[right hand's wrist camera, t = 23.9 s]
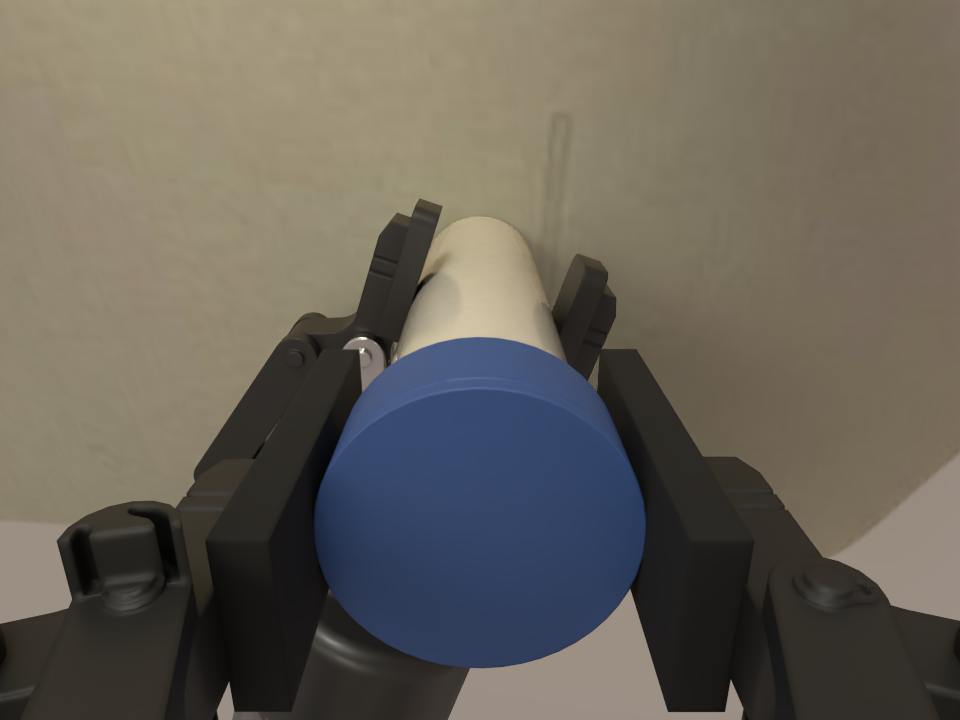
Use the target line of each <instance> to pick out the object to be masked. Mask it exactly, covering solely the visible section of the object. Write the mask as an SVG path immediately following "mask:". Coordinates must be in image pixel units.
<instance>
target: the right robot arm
mask: <svg viewBox="0 0 960 720" xmlns="http://www.w3.org/2000/svg"><path fill="white" fill-rule="evenodd" d="M597 393H598V395H599V396H600V398H601V399H602V401H603V402H604V403H605V405H606V407H607V409H608V411H609V414H610V416H611V418H612V420H613V422H614V425H615V427H616V429H617V432H618V434H619V437H620V439H621V442H622V444H623V446H624V449H625V451H626V454H627V456H628V459H629V461H630V463H631V466H632V468H633V471H634V473H635V476H636V478H637V480H638V483H639V486H640V490H641V493H642V496H643V499H644V505H645V512H646V533H645V543H644V552H643V558H642V561H641V564H640V567H639V570H638V573H637V575H636V577H635V579H634V581H633V583H632V585H631V587H630V589H631V592H632V595H633V599H634V602H635V605H636V609H637V612H638V615H639V618H640V622H641V625H642V628H643V632H644V635H645V638H646V641H647V645H648V648H649V651H650V654H651V658H652V661H653V664H654V668H655V671H656V674H657V677H658V680H659V684H660V687H661V690H662V694H663V697H664V700H665V704H666V707H667V710H668V712H725V708H726V703H727V697H728V691H729V685H730V680H732V683H733V685H734V687H735V689H736V692H737V694H738V697H739V699H740V701H741V703H742V706H743V708H744V710H743V715H742V720H960V621H958V620H953V619H948V618H943V617H939V616H934V615H929V614H924V613H920V612H915V611H910V610H906V609H902V608H899V607H895V606H891V605H890V603H889V600H888V598H887V597H886V595H885V594H884V593H883V591H882V590H881V589H880V587H879V586H878V585H877V584H876V583H875V582H874V581H872V580H871V579H870V578H868V577H867V576H866V575H864V574H863V573H862V572H860V571H859V570H856V569H854V568H852V567H850V566H848V565H846V564H843V563H841V562H839V561H835V560H831V559H827V558H823V557H822V556H821V554H820V553H819V552H818V550H817V549H816V548H815V546H814V545H813V543H812V542H811V541H810V539H809V538H808V537H807V535H806V534H805V533H804V531H803V530H802V529H801V527H800V526H799V525H798V523H797V522H796V521H795V519H794V518H793V517H792V515H791V514H790V513H789V511H788V510H785V506H784V504H783V503H782V502H781V500H780V499H779V498H778V496H777V495H776V494H773V490H772V488H771V487H770V486H769V484H768V483H767V482H766V480H765V479H764V478H763V476H762V475H761V474H760V472H758V471H757V470H755V469H754V468H752V467H751V466H749V465H748V464H746V463H745V462H743V461H741V460H740V459H738V458H737V457H703V456H702V455H701V453H700V451H699V450H698V448H697V446H696V445H695V443H694V442H693V440H692V438H691V437H690V435H689V434H688V432H687V430H686V429H685V427H684V425H683V424H682V422H681V421H680V419H679V417H678V416H677V414H676V413H675V411H674V409H673V408H672V406H671V404H670V403H669V401H668V400H667V398H666V396H665V395H664V393H663V392H662V390H661V388H660V387H659V385H658V383H657V382H656V380H655V379H654V377H653V375H652V374H651V372H650V370H649V369H648V367H647V366H646V364H645V362H644V361H643V359H642V358H641V356H640V354H639V353H638V351H637V349H600V359H599V374H598V388H597ZM361 394H362V380H361V365H360V350H359V349H323V350H322V352H321V354H320V355H319V357H318V358H317V360H316V362H315V363H314V365H313V367H312V368H311V370H310V371H309V373H308V375H307V376H306V378H305V379H304V381H303V383H302V384H301V386H300V388H299V389H298V391H297V392H296V394H295V396H294V397H293V399H292V401H291V402H290V404H289V405H288V407H287V409H286V410H285V412H284V413H283V415H282V417H281V418H280V420H279V422H278V423H277V425H276V426H275V428H274V430H273V431H272V433H271V434H270V436H269V438H268V439H267V441H266V443H265V444H264V446H263V447H262V449H261V451H260V452H259V454H258V455H257V457H256V459H223V460H222V461H220V462H219V463H217V464H216V465H214V466H213V467H211V468H210V469H208V470H207V471H205V472H204V473H202V474H201V475H200V476H199V477H198V478H197V480H196V481H195V482H194V484H193V485H192V487H191V488H190V489H189V491H188V492H187V496H186V497H183V499H182V500H181V501H180V503H179V504H178V505H177V507H176V508H173V507H172V506H171V505H169V504H165V503H161V502H156V501H132V502H128V503H123V504H118V505H114V506H109V507H107V508H104V509H102V510H99V511H97V512H94V513H92V514H89V515H87V516H85V517H84V518H82V519H80V520H79V521H77V522H76V523H74V524H73V525H71V526H70V527H68V528H67V529H66V531H65V532H64V533H63V534H62V535H61V536H60V538H59V539H58V540H57V544H58V548H59V551H60V555H61V559H62V563H63V566H64V570H65V574H66V577H67V581H68V585H69V589H70V592H71V596H72V601H71V604H70V606H69V608H68V609H65V610H61V611H58V612H54V613H49V614H45V615H40V616H36V617H31V618H26V619H21V620H16V621H12V622H7V623H2V624H0V720H218V715H217V708H218V706H219V704H220V701H221V699H222V697H223V694H224V692H225V690H226V687H227V685H228V683H229V682H230V688H231V694H232V699H233V705H234V711H235V712H292V709H293V705H294V702H295V699H296V696H297V692H298V689H299V686H300V683H301V679H302V676H303V673H304V669H305V666H306V663H307V660H308V656H309V653H310V650H311V647H312V643H313V640H314V637H315V633H316V630H317V627H318V624H319V620H320V617H321V614H322V611H323V607H324V604H325V601H326V597H327V594H328V591H329V586H328V584H327V582H326V580H325V578H324V576H323V573H322V571H321V568H320V565H319V562H318V559H317V554H316V547H315V538H314V527H313V518H314V509H315V503H316V499H317V495H318V492H319V488H320V485H321V483H322V480H323V478H324V475H325V473H326V470H327V468H328V466H329V463H330V461H331V458H332V456H333V453H334V451H335V448H336V446H337V444H338V441H339V439H340V436H341V434H342V431H343V429H344V427H345V424H346V422H347V420H348V417H349V415H350V413H351V411H352V408H353V406H354V405H355V403H356V402H357V400H358V399H359V397H360V396H361Z"/></svg>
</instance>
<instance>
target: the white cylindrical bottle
mask: <svg viewBox="0 0 960 720" xmlns="http://www.w3.org/2000/svg"><path fill="white" fill-rule="evenodd" d="M469 337H492V338H502V339H507V340H513V341H518V342H521V343H524V344H528V345H531V346H534V347H537V348H539V349H541V350H543V351H546V352H548V353H550V354H552V355H554V356H556V357H557V358H559V359H560V360H562V361H564V362H565V363H567V364H568V361H567V358H566V355H565V352H564V349H563V346H562V343H561V340H560V337H559V334H558V331H557V328H556V325H555V322H554V319H553V316H552V313H551V310H550V307H549V304H548V301H547V298H546V295H545V292H544V289H543V286H542V283H541V280H540V277H539V274H538V271H537V268H536V265H535V262H534V259H533V256H532V253H531V251H530V248H529V246H528V244H527V242H526V241H525V239H524V238H523V237H522V235H521V234H520V233H519V232H518V231H517V230H515V229H514V228H513V227H512V226H510V225H508V224H507V223H505V222H503V221H500V220H498V219H495V218H491V217H480V216H476V217H469V218H465V219H461V220H459V221H457V222H454V223H453V224H451V225H449V226H448V227H447V228H445V229H444V230H443V231H442V232H441V233H440V234H439V235H438V236H437V237H436V239H435V240H434V242H433V243H432V245H431V247H430V249H429V252H428V255H427V258H426V261H425V264H424V267H423V270H422V273H421V277H420V280H419V283H418V286H417V289H416V292H415V295H414V298H413V301H412V304H411V307H410V310H409V312H408V315H407V318H406V321H405V324H404V327H403V330H402V333H401V336H400V339H399V342H398V345H397V348H396V351H395V354H394V357H393V360H392V363H391V365H392V364H393V363H395V362H396V361H398V360H399V359H401V358H402V357H404V356H406V355H408V354H410V353H412V352H414V351H416V350H418V349H420V348H423V347H426V346H429V345H432V344H435V343H438V342H442V341H447V340H452V339H457V338H469ZM568 365H569V364H568Z"/></svg>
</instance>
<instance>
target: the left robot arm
mask: <svg viewBox="0 0 960 720" xmlns="http://www.w3.org/2000/svg"><path fill="white" fill-rule="evenodd" d="M442 207H443V206H440V205H437V204H434V203H431V202H429V201H426V200H423V199H419V201H418V202H417V204H416V206H415V209H414V211H413V214H412V217H408V216H405V215H402V214H400V213H396V215H395V216H394V217H393V218H392V220H391V221H390V222H389V223H388V225H387V226H386V227H385V228H384V230H383V231H382V233H381V234H380V235H379V237H378V241H377V244H376V248H375V251H374V255H373V258H372V262H371V265H370V269H369V272H368V276H367V279H366V283H365V286H364V289H363V293H362V296H361V300H360V303H359V307H358V310H357V312H356V313H355V314H353V315H351V316H348V317H344V318H327V317H326V316H324V315H322V314H319V313H307V314H305V315H303V316H302V317H300V319H299V320H298V321H297V322H296V323H295V325H294V326H293V328H292V329H291V331H290V332H289V334H288V335H287V336H286V337H284V338H283V339H282V341H281V342H280V343H279V344H278V346H277V347H276V348H275V350H274V351H273V353H272V354H271V356H270V357H269V359H268V360H267V362H266V363H265V365H264V366H263V368H262V369H261V371H260V372H259V374H258V375H257V377H256V378H255V380H254V381H253V383H252V384H251V386H250V387H249V389H248V390H247V392H246V393H245V395H244V396H243V398H242V399H241V401H240V402H239V404H238V405H237V407H236V408H235V410H234V411H233V413H232V414H231V416H230V417H229V419H228V420H227V422H226V423H225V425H224V426H223V428H222V429H221V431H220V432H219V434H218V435H217V437H216V438H215V440H214V441H213V443H212V444H211V446H210V447H209V449H208V450H207V452H206V453H205V455H204V456H203V458H202V459H201V461H200V462H199V464H198V465H197V467H196V468H195V471H194V479H195V481H196V480H197V478H198V477H199V476H200V475H201V474H202V473H204V472H205V471H207V470H208V469H210V468H211V467H213V466H214V465H216V464H217V463H219V462H220V461H222V460H223V459H256V457H257V455H258V454H259V452H260V451H261V449H262V447H263V446H264V444H265V443H266V441H267V439H268V438H269V436H270V434H271V433H272V431H273V430H274V428H275V425H276V424H277V422H278V421H279V419H280V418H281V417H282V415H283V413H284V412H285V410H286V409H287V407H288V405H289V404H290V402H291V401H292V399H293V397H294V396H295V394H296V392H297V391H298V389H299V388H300V386H301V384H302V383H303V381H304V379H305V378H306V376H307V375H308V373H309V371H310V370H311V368H312V367H313V365H314V363H315V362H316V360H317V358H318V357H319V355H320V354H321V352H322V350H323V349H359V350H360V365H361V380H362V392H363V391H364V390H365V389H366V388H367V387H368V386H369V384H370V383H371V382H372V381H373V380H374V379H375V378H376V377H377V376H378V375H379V374H380V373H382V372H383V371H384V370H385V369H386V368H387V367H389V366H390V365H391V363H392V360H393V357H394V342H397V343H398V342H399V339H400V336H401V333H402V330H403V327H404V324H405V321H406V318H407V315H408V312H409V310H410V307H411V304H412V301H413V298H414V295H415V292H416V289H417V286H418V283H419V280H420V277H421V273H422V270H423V267H424V264H425V261H426V258H427V255H428V251H429V248H430V245H431V242H432V239H433V236H434V232H435V229H436V226H437V223H438V220H439V217H440V214H441V210H442ZM607 279H608V272H607V270H606V269H605V268H604V266H603V265H602V263H601V262H600V261H598V260H595V259H592V258H589V257H586V256H583V255H580V254H576V256H575V257H574V259H573V261H572V263H571V265H570V267H569V270H568V272H567V275H566V278H565V280H564V283H563V285H562V288H561V290H560V293H559V295H558V298H557V300H556V303H555V305H554V308H553V310H552V316H553V319H554V322H555V325H556V328H557V331H558V334H559V337H560V340H561V343H562V346H563V349H564V352H565V355H566V358H567V361H568V364H569V365H570V366H571V367H572V368H573V369H575V370H576V371H577V372H578V373H579V374H581V375H582V376H583V377H584V378H585V379H586V380H587V381H588V379H589V377H590V375H591V372H592V370H593V368H594V365H595V363H596V361H597V358H598V356H599V354H600V349H601V348H602V346H603V345H604V342H605V340H606V338H607V334H608V333H609V331H610V329H611V326H612V324H613V322H614V319H615V317H616V297H615V295H614V294H613V293H612V291H611V290H610V288H609V287H608V285H606V284H607ZM469 669H470V668H465V667H456V666H449V665H442V664H438V663H434V662H430V661H426V660H422V659H420V658H417V657H414V656H411V655H409V654H406V653H403V652H401V651H399V650H397V649H395V648H393V647H391V646H389V645H387V644H386V643H384V642H383V641H381V640H379V639H378V638H376V637H375V636H373V635H372V634H370V633H369V632H368V631H367V630H365V629H364V628H363V627H362V626H361V625H359V624H358V623H357V622H356V621H355V620H354V619H353V618H352V617H351V616H350V615H349V614H348V613H347V612H346V611H345V610H344V609H343V607H342V606H341V604H340V603H339V602H338V600H337V599H336V598H335V596H334V595H333V593H332V591H331V590H330V588H329V591H328V594H327V597H326V601H325V604H324V607H323V611H322V614H321V617H320V620H319V624H318V627H317V630H316V633H315V637H314V640H313V643H312V647H311V650H310V653H309V656H308V660H307V663H306V666H305V669H304V673H303V676H302V679H301V683H300V686H299V689H298V692H297V696H296V699H295V702H294V705H293V709H292V712H235V711H234V714H233V719H232V720H448V718H449V715H450V713H451V711H452V708H453V706H454V704H455V702H456V699H457V697H458V694H459V692H460V690H461V687H462V685H463V683H464V681H465V678H466V676H467V674H468V672H469Z"/></svg>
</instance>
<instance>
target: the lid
mask: <svg viewBox="0 0 960 720" xmlns="http://www.w3.org/2000/svg"><path fill="white" fill-rule="evenodd" d="M313 527H314V538H315V547H316V554H317V559H318V562H319V565H320V568H321V571H322V573H323V576H324V578H325V580H326V582H327V584H328V586H329V588H330V590H331V591H332V593H333V595H334V596H335V598H336V599H337V600H338V602H339V603H340V604H341V606H342V607H343V609H344V610H345V611H346V612H347V613H348V614H349V615H350V616H351V617H352V618H353V619H354V620H355V621H356V622H357V623H358V624H359V625H361V626H362V627H363V628H364V629H365V630H367V631H368V632H369V633H370V634H372V635H373V636H375V637H376V638H378V639H379V640H381V641H383V642H384V643H386V644H387V645H389V646H391V647H393V648H395V649H397V650H399V651H401V652H403V653H406V654H409V655H411V656H414V657H417V658H420V659H422V660H426V661H430V662H434V663H438V664H442V665H449V666H456V667H465V668H493V667H504V666H510V665H516V664H522V663H526V662H530V661H533V660H537V659H541V658H543V657H546V656H548V655H551V654H553V653H556V652H559V651H561V650H563V649H564V648H566V647H568V646H570V645H572V644H574V643H576V642H577V641H579V640H580V639H582V638H583V637H585V636H586V635H588V634H589V633H591V632H592V631H593V630H594V629H596V628H597V627H598V626H599V625H600V624H601V623H602V622H604V621H605V620H606V619H607V618H608V617H609V616H610V615H611V613H612V612H613V611H614V610H615V609H616V608H617V607H618V606H619V604H620V603H621V601H622V600H623V598H624V597H625V595H626V594H627V592H628V591H629V589H630V587H631V585H632V583H633V581H634V579H635V577H636V575H637V573H638V570H639V567H640V564H641V561H642V558H643V552H644V543H645V533H646V512H645V505H644V499H643V496H642V493H641V490H640V486H639V483H638V480H637V478H636V476H635V473H634V471H633V468H632V466H631V463H630V461H629V459H628V456H627V454H626V451H625V449H624V446H623V444H622V442H621V439H620V437H619V434H618V432H617V429H616V427H615V425H614V422H613V420H612V418H611V416H610V414H609V411H608V409H607V407H606V405H605V403H604V402H603V401H602V399H601V398H600V396H599V395H598V393H597V392H596V390H595V389H594V388H593V387H592V386H591V385H590V384H589V382H588V381H587V380H586V379H585V378H584V377H583V376H582V375H581V374H579V373H578V372H577V371H576V370H575V369H573V368H572V367H571V366H570V365H568V364H567V363H565V362H564V361H562V360H560V359H559V358H557V357H556V356H554V355H552V354H550V353H548V352H546V351H543V350H541V349H539V348H537V347H534V346H531V345H528V344H524V343H521V342H518V341H513V340H507V339H502V338H492V337H469V338H457V339H452V340H447V341H442V342H438V343H435V344H432V345H429V346H426V347H423V348H420V349H418V350H416V351H414V352H412V353H410V354H408V355H406V356H404V357H402V358H401V359H399V360H398V361H396V362H395V363H393V364H392V365H390V366H389V367H387V368H386V369H385V370H384V371H383V372H382V373H380V374H379V375H378V376H377V377H376V378H375V379H374V380H373V381H372V382H371V383H370V384H369V386H368V387H367V388H366V389H365V390H364V391H363V392H362V394H361V396H360V397H359V399H358V400H357V402H356V403H355V405H354V406H353V408H352V411H351V413H350V415H349V417H348V420H347V422H346V424H345V427H344V429H343V431H342V434H341V436H340V439H339V441H338V444H337V446H336V448H335V451H334V453H333V456H332V458H331V461H330V463H329V466H328V468H327V470H326V473H325V475H324V478H323V480H322V483H321V485H320V488H319V492H318V495H317V499H316V503H315V509H314V518H313Z"/></svg>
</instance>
